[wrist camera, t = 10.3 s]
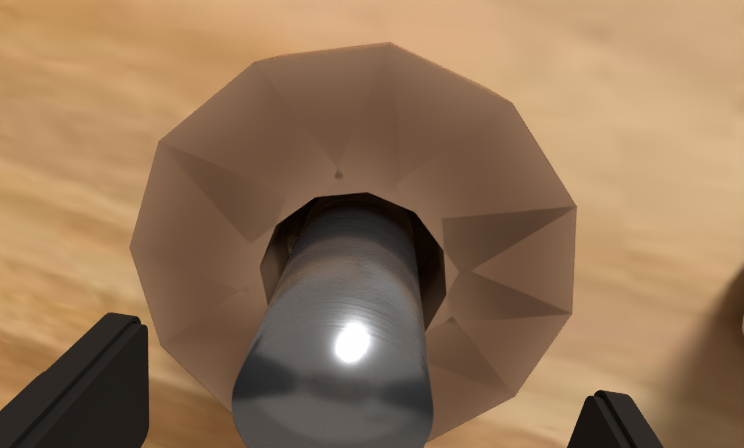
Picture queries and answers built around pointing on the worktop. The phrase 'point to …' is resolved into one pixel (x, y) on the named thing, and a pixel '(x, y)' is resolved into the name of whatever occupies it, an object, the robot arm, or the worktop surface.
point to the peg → (341, 337)
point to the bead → (356, 175)
